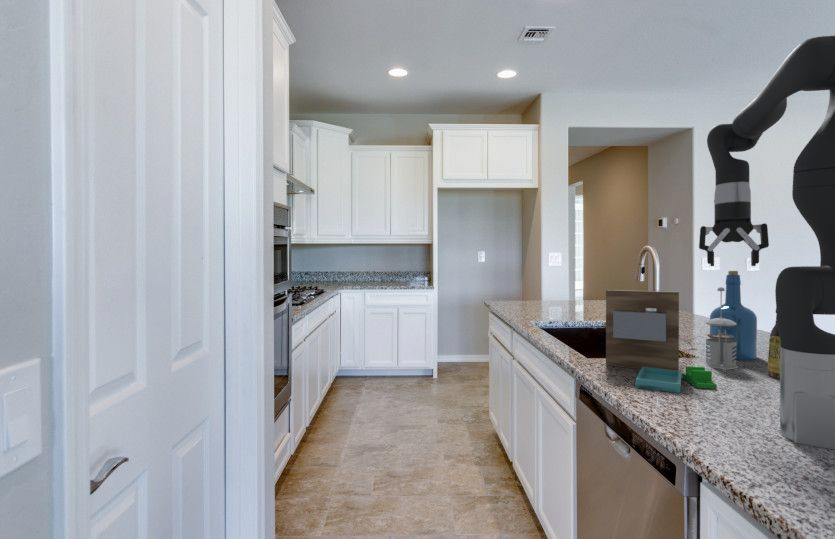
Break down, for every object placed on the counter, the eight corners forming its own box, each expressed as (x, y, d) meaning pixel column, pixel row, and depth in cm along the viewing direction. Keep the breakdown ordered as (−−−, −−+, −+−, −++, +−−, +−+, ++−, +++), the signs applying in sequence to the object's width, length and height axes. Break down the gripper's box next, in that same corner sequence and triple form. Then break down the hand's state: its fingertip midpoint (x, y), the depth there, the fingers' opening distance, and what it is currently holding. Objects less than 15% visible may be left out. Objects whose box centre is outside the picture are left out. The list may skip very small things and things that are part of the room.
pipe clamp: (717, 374, 112) (697, 373, 113) (717, 388, 112) (697, 388, 113) (699, 364, 123) (681, 364, 124) (699, 377, 123) (681, 377, 124)
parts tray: (680, 393, 109) (680, 384, 109) (635, 387, 115) (635, 378, 115) (681, 378, 123) (681, 371, 123) (642, 374, 128) (642, 366, 128)
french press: (738, 365, 139) (738, 286, 139) (742, 373, 129) (743, 288, 129) (701, 361, 144) (701, 286, 144) (703, 369, 134) (703, 287, 134)
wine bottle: (762, 364, 140) (763, 271, 140) (713, 360, 146) (713, 271, 145) (751, 356, 153) (751, 270, 152) (706, 353, 158) (706, 270, 158)
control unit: (665, 341, 126) (665, 309, 126) (613, 337, 133) (613, 307, 133) (666, 338, 131) (667, 307, 131) (616, 334, 138) (616, 305, 138)
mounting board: (678, 373, 129) (678, 292, 129) (605, 365, 140) (606, 290, 140) (678, 371, 131) (678, 291, 131) (607, 363, 142) (607, 290, 141)
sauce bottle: (763, 376, 125) (763, 307, 125) (775, 374, 128) (775, 306, 127) (790, 382, 119) (790, 309, 119) (802, 379, 122) (803, 308, 122)
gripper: (699, 202, 112) (699, 266, 112) (770, 197, 104) (770, 265, 104) (698, 206, 118) (698, 266, 118) (765, 202, 111) (765, 266, 111)
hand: (732, 266), depth 111 cm, fingers open, 8 cm apart
